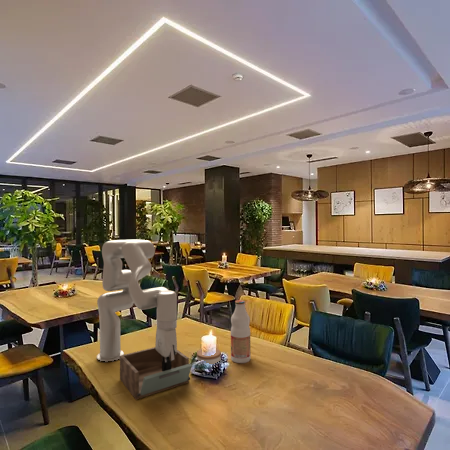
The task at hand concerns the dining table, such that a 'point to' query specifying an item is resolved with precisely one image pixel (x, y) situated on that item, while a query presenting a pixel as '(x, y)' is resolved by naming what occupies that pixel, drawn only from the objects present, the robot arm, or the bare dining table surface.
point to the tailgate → (165, 379)
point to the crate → (146, 369)
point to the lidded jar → (209, 357)
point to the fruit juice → (240, 334)
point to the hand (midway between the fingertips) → (166, 371)
